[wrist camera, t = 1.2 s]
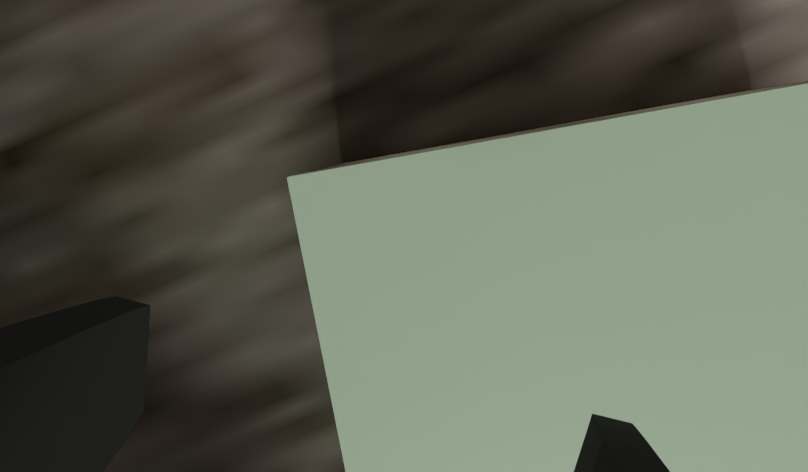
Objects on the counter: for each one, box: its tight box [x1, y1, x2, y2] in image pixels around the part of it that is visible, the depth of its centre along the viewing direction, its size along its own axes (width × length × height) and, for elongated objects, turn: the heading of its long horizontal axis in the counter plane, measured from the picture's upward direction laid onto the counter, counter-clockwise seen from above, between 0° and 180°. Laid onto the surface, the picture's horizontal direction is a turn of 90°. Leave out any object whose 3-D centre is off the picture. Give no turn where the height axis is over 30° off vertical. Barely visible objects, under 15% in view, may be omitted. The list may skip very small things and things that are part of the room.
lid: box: [287, 82, 808, 472], centre depth 18 cm, size 14×11×2 cm
